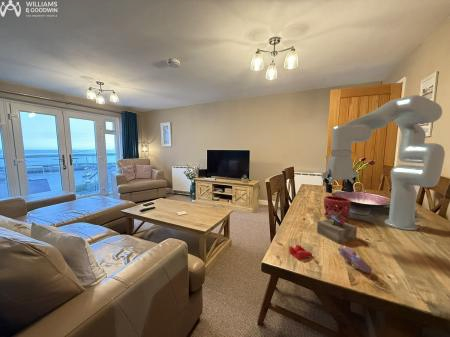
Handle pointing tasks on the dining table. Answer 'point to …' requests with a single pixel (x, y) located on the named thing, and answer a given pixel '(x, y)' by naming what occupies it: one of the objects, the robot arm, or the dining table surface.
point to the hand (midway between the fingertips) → (338, 192)
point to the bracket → (299, 252)
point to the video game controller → (354, 259)
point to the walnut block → (336, 231)
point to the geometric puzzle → (337, 217)
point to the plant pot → (341, 204)
